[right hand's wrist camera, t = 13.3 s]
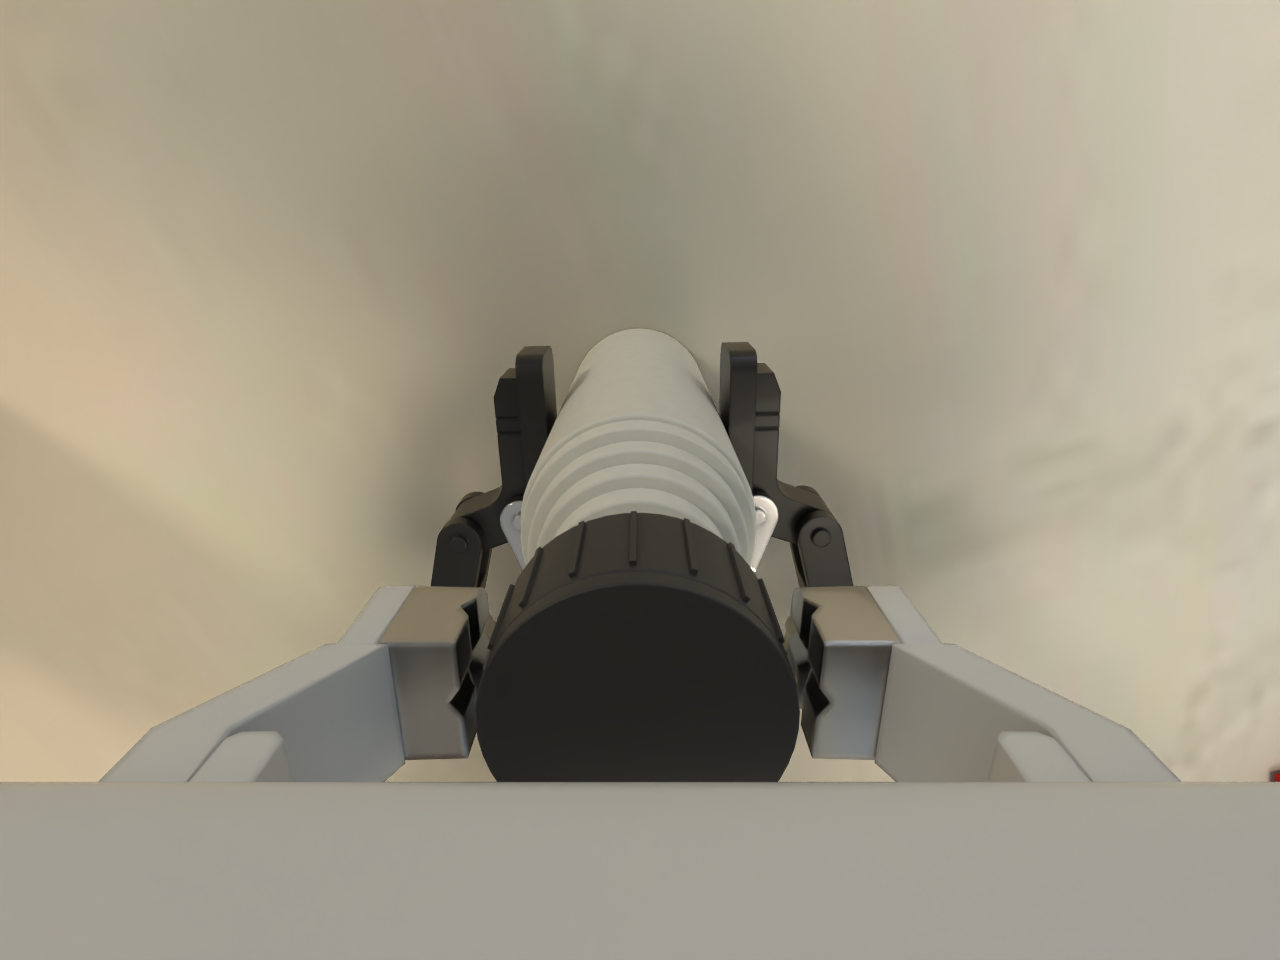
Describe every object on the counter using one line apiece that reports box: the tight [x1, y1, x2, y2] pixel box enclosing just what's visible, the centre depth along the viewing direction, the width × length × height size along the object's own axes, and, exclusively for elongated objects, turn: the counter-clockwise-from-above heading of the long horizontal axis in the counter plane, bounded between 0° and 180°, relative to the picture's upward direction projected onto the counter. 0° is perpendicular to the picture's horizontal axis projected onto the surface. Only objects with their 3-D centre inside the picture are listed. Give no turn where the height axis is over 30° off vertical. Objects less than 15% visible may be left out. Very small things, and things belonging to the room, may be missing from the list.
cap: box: [475, 511, 800, 782], centre depth 9 cm, size 4×4×2 cm
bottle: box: [521, 328, 756, 566], centre depth 17 cm, size 5×5×18 cm
